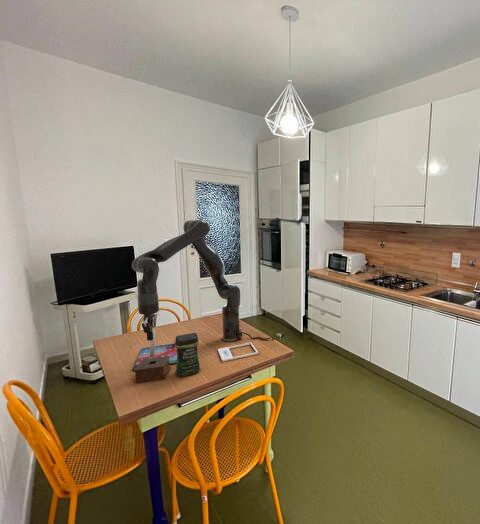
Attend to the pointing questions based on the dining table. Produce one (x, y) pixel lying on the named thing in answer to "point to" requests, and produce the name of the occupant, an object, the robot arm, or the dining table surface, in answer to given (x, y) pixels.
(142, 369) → the holder
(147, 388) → the dining table surface
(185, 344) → the coffee jar
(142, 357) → the tablet
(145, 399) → the dining table surface
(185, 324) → the dining table surface
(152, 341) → the stylus
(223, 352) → the photo frame
